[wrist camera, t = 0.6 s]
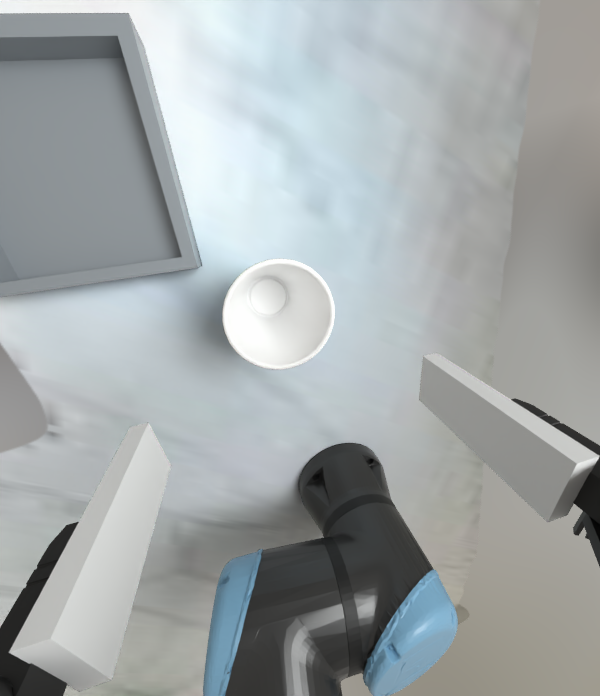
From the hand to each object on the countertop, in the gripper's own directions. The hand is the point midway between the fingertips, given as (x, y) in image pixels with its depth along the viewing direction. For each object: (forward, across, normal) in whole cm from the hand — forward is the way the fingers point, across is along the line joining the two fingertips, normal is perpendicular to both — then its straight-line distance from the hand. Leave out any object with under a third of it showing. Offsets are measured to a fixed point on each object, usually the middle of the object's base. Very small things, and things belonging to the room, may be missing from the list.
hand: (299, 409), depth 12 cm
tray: (+23, +15, -14) cm, 31 cm away
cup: (+23, -1, 0) cm, 23 cm away
